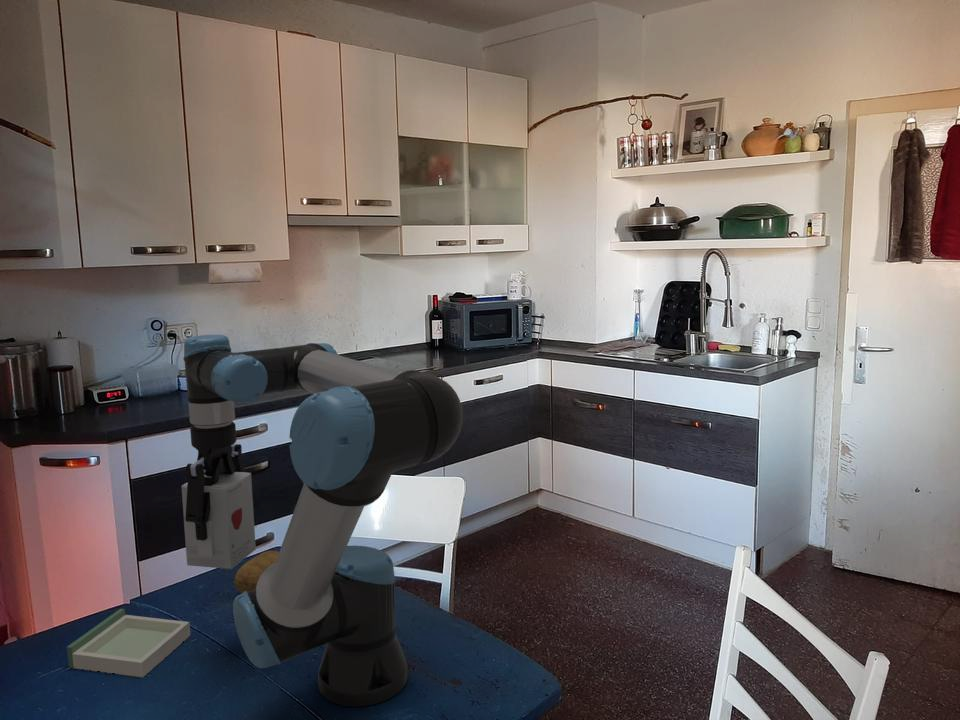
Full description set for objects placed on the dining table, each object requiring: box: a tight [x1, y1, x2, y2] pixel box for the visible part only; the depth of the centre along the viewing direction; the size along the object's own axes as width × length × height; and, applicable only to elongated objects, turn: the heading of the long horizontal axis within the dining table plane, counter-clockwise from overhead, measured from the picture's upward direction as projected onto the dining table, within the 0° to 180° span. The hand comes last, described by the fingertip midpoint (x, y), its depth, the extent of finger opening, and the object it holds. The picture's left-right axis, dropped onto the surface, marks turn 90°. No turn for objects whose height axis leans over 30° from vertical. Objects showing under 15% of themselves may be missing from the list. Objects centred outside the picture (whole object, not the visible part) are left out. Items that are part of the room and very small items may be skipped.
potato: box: [233, 550, 280, 594], centre depth 159 cm, size 10×14×8 cm
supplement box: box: [181, 471, 257, 570], centre depth 133 cm, size 9×9×15 cm
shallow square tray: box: [66, 608, 191, 678], centre depth 137 cm, size 15×14×4 cm
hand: (221, 544), depth 134 cm, fingers closed on supplement box, 9 cm apart
